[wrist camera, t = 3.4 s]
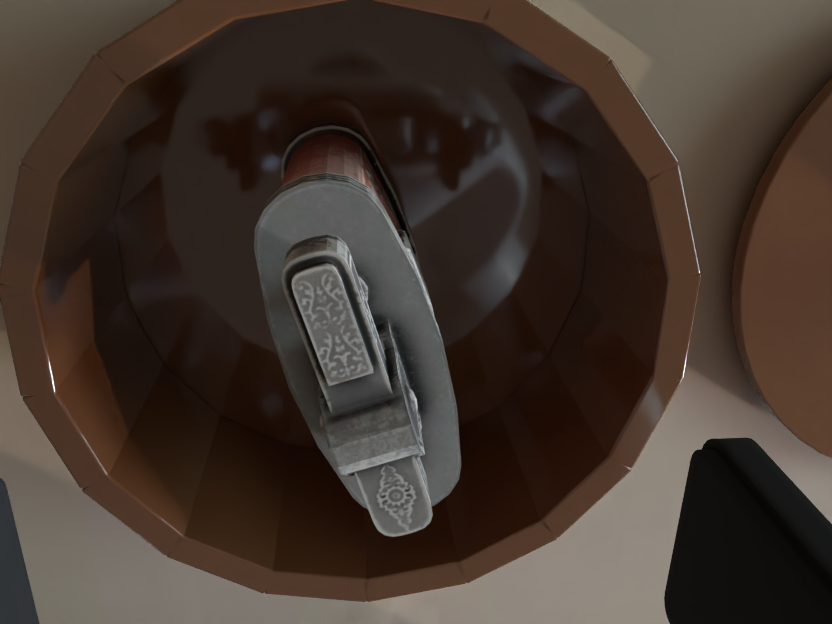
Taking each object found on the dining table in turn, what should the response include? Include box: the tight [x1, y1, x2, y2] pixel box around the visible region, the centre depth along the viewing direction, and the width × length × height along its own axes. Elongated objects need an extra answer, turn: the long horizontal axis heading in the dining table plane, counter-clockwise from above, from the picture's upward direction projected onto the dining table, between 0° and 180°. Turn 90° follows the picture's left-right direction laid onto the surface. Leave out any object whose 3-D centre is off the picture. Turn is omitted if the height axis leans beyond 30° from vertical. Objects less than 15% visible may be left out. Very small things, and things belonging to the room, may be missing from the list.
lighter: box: [254, 121, 461, 537], centre depth 18 cm, size 8×3×10 cm, turn 16°
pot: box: [0, 0, 701, 602], centre depth 20 cm, size 16×16×6 cm
